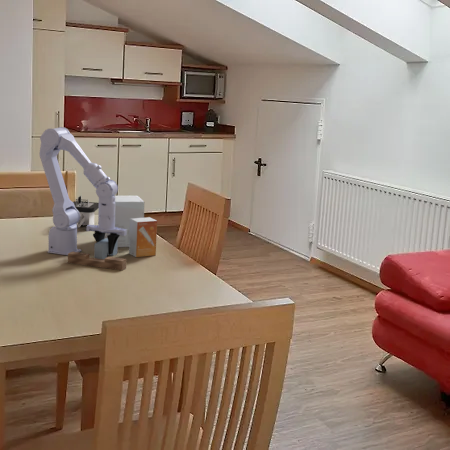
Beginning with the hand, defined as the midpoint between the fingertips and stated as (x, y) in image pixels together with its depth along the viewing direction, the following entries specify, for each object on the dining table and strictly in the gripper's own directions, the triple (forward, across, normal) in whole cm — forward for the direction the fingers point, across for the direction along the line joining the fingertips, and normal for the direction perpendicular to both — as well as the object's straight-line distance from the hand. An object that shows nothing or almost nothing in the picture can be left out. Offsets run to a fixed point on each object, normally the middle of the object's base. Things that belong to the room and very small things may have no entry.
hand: (106, 253), depth 227 cm
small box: (+2, +10, +9) cm, 14 cm away
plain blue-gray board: (+1, 0, 0) cm, 1 cm away
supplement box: (+2, -3, +21) cm, 21 cm away
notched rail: (+1, +2, -11) cm, 11 cm away
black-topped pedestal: (+2, -28, +36) cm, 45 cm away
